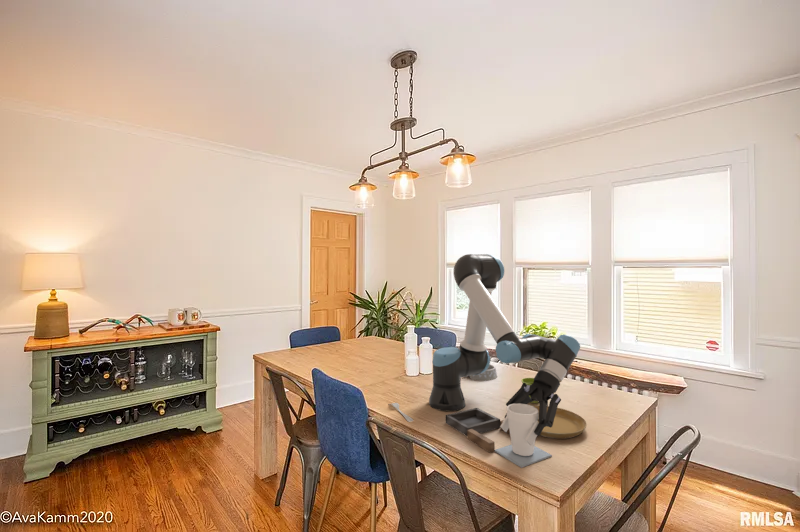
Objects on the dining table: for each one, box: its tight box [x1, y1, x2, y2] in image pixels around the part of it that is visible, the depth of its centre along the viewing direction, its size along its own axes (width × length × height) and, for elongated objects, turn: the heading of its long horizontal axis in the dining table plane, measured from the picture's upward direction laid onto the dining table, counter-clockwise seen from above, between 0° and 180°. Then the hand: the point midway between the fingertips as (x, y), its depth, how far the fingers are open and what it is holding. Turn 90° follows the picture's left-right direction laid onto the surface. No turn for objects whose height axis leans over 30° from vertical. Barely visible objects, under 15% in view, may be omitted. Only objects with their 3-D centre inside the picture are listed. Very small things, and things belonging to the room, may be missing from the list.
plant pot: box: [521, 377, 539, 404], centre depth 160 cm, size 9×9×9 cm
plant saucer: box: [533, 405, 588, 440], centre depth 134 cm, size 24×24×3 cm
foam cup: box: [506, 403, 539, 456], centre depth 114 cm, size 10×9×13 cm
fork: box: [388, 402, 414, 423], centre depth 148 cm, size 3×21×3 cm, turn 25°
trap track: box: [445, 407, 510, 454], centre depth 130 cm, size 25×17×3 cm
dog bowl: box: [469, 363, 498, 382], centre depth 198 cm, size 17×18×5 cm
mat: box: [494, 444, 553, 468], centre depth 114 cm, size 11×13×1 cm
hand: (515, 435), depth 113 cm, fingers open, 9 cm apart
